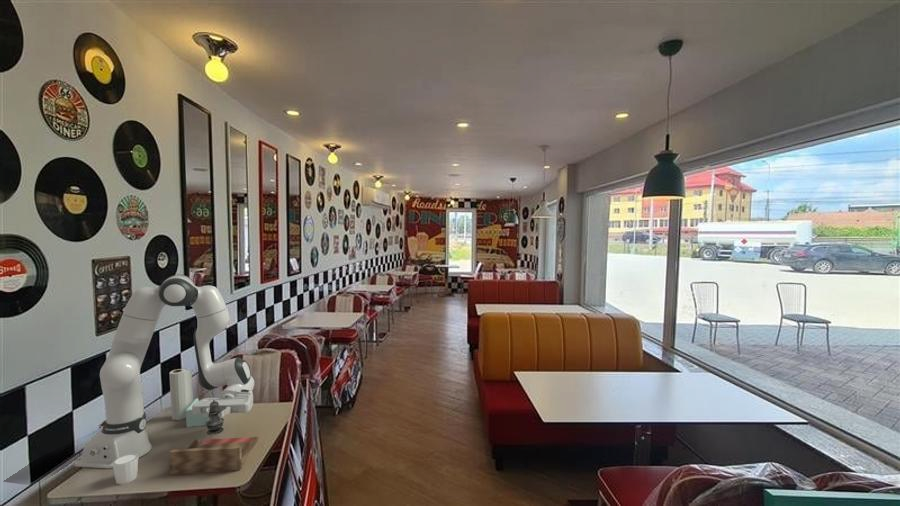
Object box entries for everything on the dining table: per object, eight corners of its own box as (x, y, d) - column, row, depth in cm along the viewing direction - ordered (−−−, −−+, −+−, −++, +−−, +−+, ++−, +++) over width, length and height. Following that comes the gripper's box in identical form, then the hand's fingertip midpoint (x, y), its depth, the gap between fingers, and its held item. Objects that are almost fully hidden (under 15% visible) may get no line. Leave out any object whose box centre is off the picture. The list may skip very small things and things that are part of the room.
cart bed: (170, 474, 139) (169, 452, 139) (202, 441, 160) (201, 422, 159) (240, 470, 141) (239, 448, 141) (262, 438, 162) (261, 419, 162)
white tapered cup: (108, 484, 134) (106, 464, 133) (127, 471, 141) (126, 452, 140) (126, 486, 133) (124, 465, 132) (144, 473, 140) (143, 454, 139)
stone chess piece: (216, 436, 144) (214, 403, 143) (202, 434, 145) (200, 402, 144) (228, 427, 150) (226, 396, 149) (214, 426, 151) (213, 395, 150)
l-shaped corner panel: (218, 423, 174) (217, 407, 174) (186, 427, 171) (185, 410, 171) (225, 411, 186) (225, 395, 185) (196, 414, 183) (195, 398, 182)
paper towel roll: (168, 420, 178) (165, 372, 176) (180, 413, 184) (177, 367, 182) (182, 421, 176) (179, 373, 175) (193, 415, 182) (191, 368, 181)
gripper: (202, 392, 159) (182, 408, 145) (256, 390, 161) (242, 405, 147) (203, 407, 159) (183, 425, 145) (257, 405, 161) (242, 422, 147)
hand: (213, 415), depth 146 cm, fingers closed on stone chess piece, 3 cm apart
